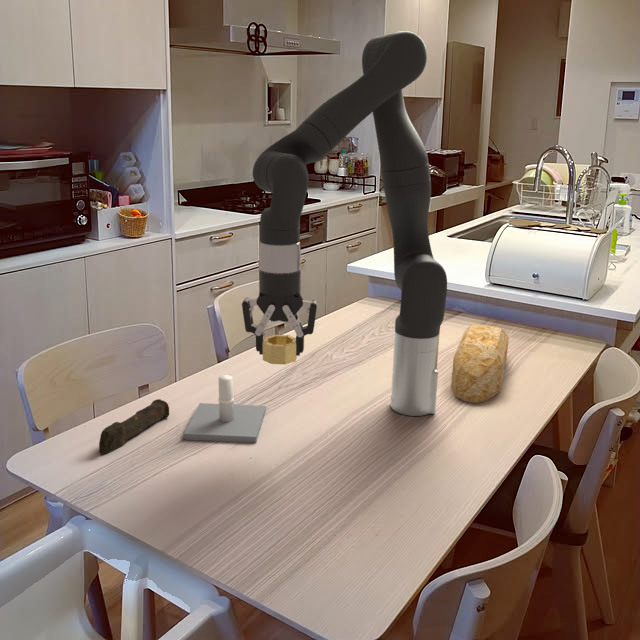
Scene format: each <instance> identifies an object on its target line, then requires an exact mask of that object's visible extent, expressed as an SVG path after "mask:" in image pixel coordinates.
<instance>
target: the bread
mask: <svg viewBox="0 0 640 640" xmlns="http://www.w3.org/2000/svg"><path fill="white" fill-rule="evenodd" d="M509 339H510V337H509V335H508V333H506V331H505V330H504V329H502V328H501V327H498V326H493V325H491V326H489V325H485V324H484V325H482V324H471V325H470V326H468V327H467V328H466V329H465V331H464V332H463V334H462V337H461V339H460V341H459V344H458V346H457V348H456V351H455V353H454V355H453V359H452V360H453V361H452V372H451V382H450V383H451V384H450V387H451V389H452V391H453V395H454V397H456V398H458V399H460V400H462V401H463V402H467V401H468V402H469V403H474V404H477V403H481V402H486V401H488V400H490V399H491V398H493V397H495V396H496V395H498V394H500V393H501V387H502V384H503V379H504V375H505V370H506V366H507V359H508V358H507V357H508V348H509Z"/></svg>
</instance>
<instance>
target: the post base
mask: <svg viewBox="0 0 640 640" xmlns="http://www.w3.org/2000/svg"><path fill="white" fill-rule="evenodd" d="M233 378H234V376H232V375H230V374H223V375H219V376H218V403H208V402H207V403H205V402H204V403H203V402H201V403H199V404H198V406H197V407H196V410H195V412H194V413H193V415H192V417H191V419H190V421H189V423H188V425H187V427H186V429H185V431H184V433H183V440H189V441H190V440H191V441H192V440H193V441H210V442H211V441H215V442H232V443H233V442H234V443H236V442H239V443H257V441H258V438H259V435H260V432H261V429H262V424H263V423H264V422H263V421H264V418H265V415H266V411H267V407H266V405H255V404H254V405H252V404H251V405H249V404H234V402H235V399H234V398H235V397H234V379H233Z"/></svg>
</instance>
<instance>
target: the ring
mask: <svg viewBox="0 0 640 640" xmlns="http://www.w3.org/2000/svg"><path fill="white" fill-rule="evenodd" d="M297 358H298V356H296V337H294V336H291V335H288V334H273V335H269V336H265V338H264V341H263V355H262V361H264V362H267V363H268V364H271V365H289V364H293V363H294V362H297Z"/></svg>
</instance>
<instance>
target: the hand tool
mask: <svg viewBox="0 0 640 640" xmlns="http://www.w3.org/2000/svg"><path fill="white" fill-rule="evenodd" d="M169 416H170V405H169V403H168V402H167V401H164V400H162V399H160V398H159V399H154V400H153V401H152V402H151V403H150V404H149V405H148V406H146V407H144V408H142V409H139V410H137V411H136V412H135V414H133V415H131V416H130V417H129V418H127V419H125V420H123V421H121V422H119V421H115V422H113V423H112V424H111V425H108V426H106V427H105V428H103V430H102V431H101V434H100V436H99V443H98V446H99V448H98V451H99V455H106V454H108V453H110V452H111V453H112V452H113V451H115V450H117V449H119V448H121V447H124V446H125V445H126V442H127V440H129V439H130V438H132V437H134V436H136V435H137V434H139V433H141V432H142V431H144V430H145V429H146V428H148V427H149V426H151V425H153V424H154V423H156V422H159V420H161V419H162V418H163V419H167V418H168V417H169Z"/></svg>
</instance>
